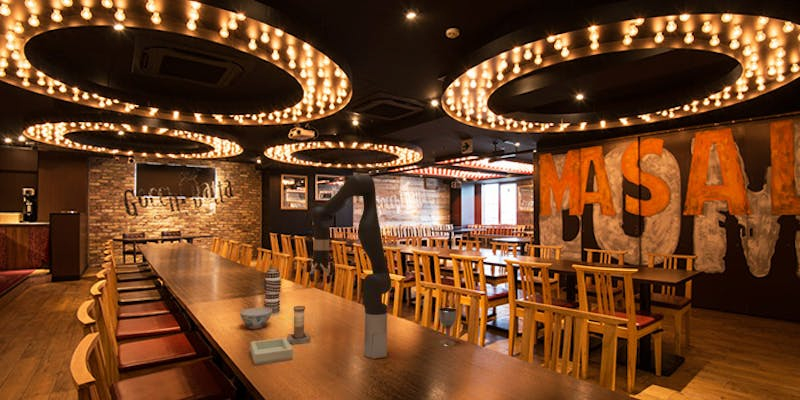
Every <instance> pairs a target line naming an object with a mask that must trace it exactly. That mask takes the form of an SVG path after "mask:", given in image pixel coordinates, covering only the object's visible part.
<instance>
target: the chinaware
mask: <svg viewBox="0 0 800 400" xmlns="http://www.w3.org/2000/svg"><path fill="white" fill-rule="evenodd" d="M271 313H272V310H271V309H269V308H264V307H253V308H247V309H243V310H241V311H240V313H239V314H240V317H241V320H242V321H243V323H244V324H245V325H246V326H248V328H249V329H253V330H254V329H255V330H256V329H261V328H263V327H264V325H265V324H266V323H267V322H268V321H269V320H270V318H271V317H272V316H271Z"/></svg>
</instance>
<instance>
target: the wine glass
mask: <svg viewBox="0 0 800 400" xmlns="http://www.w3.org/2000/svg"><path fill="white" fill-rule="evenodd" d="M457 311H458V310H457V309H456V308H455V307H446V306H445V307H439V309H438V317H439V321H440V323H441V324H442V326H443V327H444V329H445V331H446V340H445V339H444V340H441V341H439V345H441V346H449V347H451V346H455V345H456V342H455V341H453V340H449V335H450V329H451V328H452V327H453V326H454V325H455V323H456V320H457V316H458V315H457V314H458V313H457Z"/></svg>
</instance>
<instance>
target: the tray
mask: <svg viewBox="0 0 800 400" xmlns="http://www.w3.org/2000/svg"><path fill="white" fill-rule="evenodd" d="M293 351H294V350H293V348H292V346H291V344H289V342H288V341H287V337H280V338H278V337H277V338H272V339H270V338H269V339H264V340H255V341H250V355H251V358H252V362H253V365H254V366H259V365H260V366H261V365H267V364H271V363H272V364H273V363H280V362H287V361H293V357H294V356H293V354H294V353H293Z"/></svg>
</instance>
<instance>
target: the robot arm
mask: <svg viewBox="0 0 800 400" xmlns="http://www.w3.org/2000/svg"><path fill="white" fill-rule="evenodd" d="M353 197H362V201H363V210H362V213H361V216H360V220H359V223H358V227H357V228H358V229H357V231H358V237H359V242H360V245H361V247H362V249H363V251H364V252H365V254H366V255H367V257H368V259H369V261H370V264H371V265H370V266H371V270H372V273H370V274H368V275H365V277H364V279H363V281H362V304H363V308H364V339H363V340H364V345H363V346H364V348H363V349H364V351H363V353H364V356H365V357H367V358H370V359H373V360H374V359H375V360H376V359H382V358H387V357H388V350H387V349H388V306H387V304H386V303H383V297H382V295H385V294H388V293H389V291H390V290H391V289H392V288H391V287H392V282H391V281H392V279H391V275H390V271H389V268H388V264H387V260H386V256H385V255H386V254H385V251H384V250H385V249H384V246H383V245H384V244H383V240H382V239H383V238H382V232H381V227H380V226H381V225H380V221H379V214H378V207H377V194H376V183H375V180H374V179H373V177H372V176H371V175H368V174H367V175H366V174H353V175H350V177H349V178H347V179H346V180H345V182H344V183H343V184H342V186H341V187H340V188H339V190H338V191H337V192H336V193H335V194H334V195H333V196H332V197H331V198H329V199H328V200H327V201H326V202H325V203H324V205H323V206H316V207H315V206H314V207H313V208H312V210H311V212H310V218H311V222H312V227H313V231H314V232H313V233H314V234H313V244H312V245H313V246H312V258H313V259H308V260H307V262H306V269H305V270H306V271H305V273H308V274H309V281H310V282H311V283H314V282H315V272H316V271H323V272H324V273H325V274H326V282H325V283H326V284H327V285H329V284H330V283H331V282H332V275H335V274H336V271H335V270H336V267H335V265H336V264H335V261H329V259H330V228H329V227H327V226H323V224H322V223H325V222H326V223H328V222H330V221H332V220H333V219H334V218H335V216H336V214H337V213H338V212H339V213H340V211H341V210H343V209H344V207H346V204H347V201H348V199H350V198H353ZM312 265H313V266H312Z"/></svg>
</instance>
